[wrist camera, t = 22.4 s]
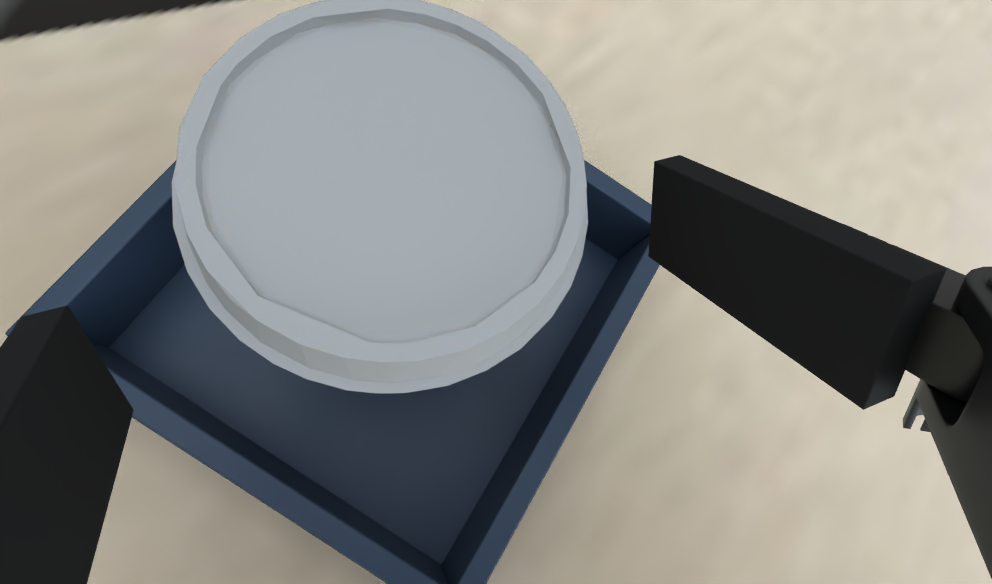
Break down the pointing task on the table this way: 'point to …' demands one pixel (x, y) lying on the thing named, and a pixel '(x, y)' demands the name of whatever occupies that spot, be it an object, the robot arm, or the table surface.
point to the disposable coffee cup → (379, 194)
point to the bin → (359, 398)
